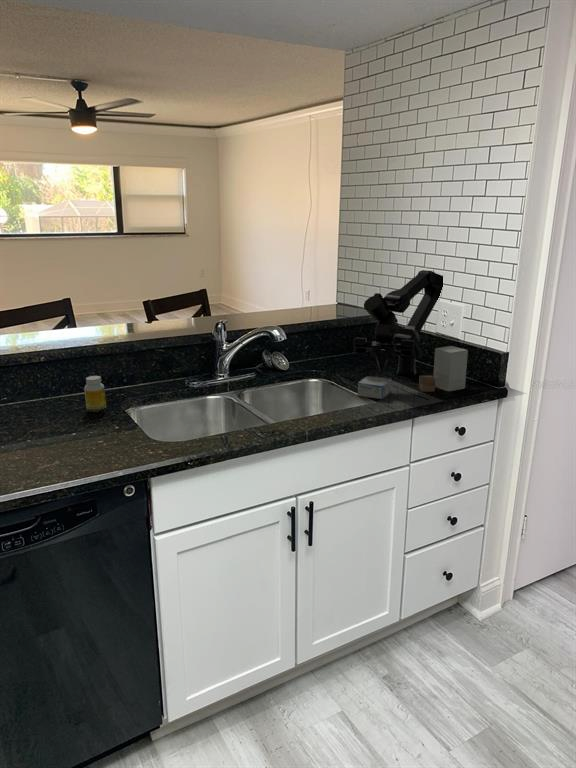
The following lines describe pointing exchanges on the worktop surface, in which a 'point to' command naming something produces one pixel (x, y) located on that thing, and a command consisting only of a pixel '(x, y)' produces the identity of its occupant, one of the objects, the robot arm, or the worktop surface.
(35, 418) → the worktop surface
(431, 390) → the walnut block
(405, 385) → the worktop surface
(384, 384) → the medicine box
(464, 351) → the supplement box
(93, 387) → the supplement bottle
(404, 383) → the worktop surface
